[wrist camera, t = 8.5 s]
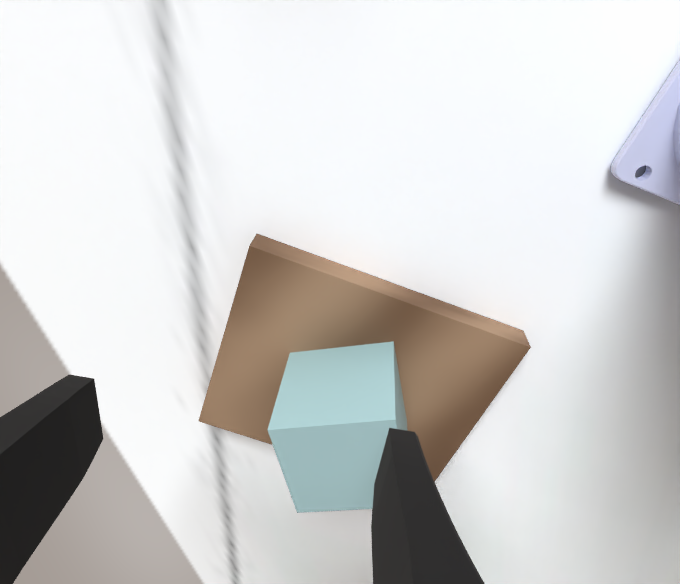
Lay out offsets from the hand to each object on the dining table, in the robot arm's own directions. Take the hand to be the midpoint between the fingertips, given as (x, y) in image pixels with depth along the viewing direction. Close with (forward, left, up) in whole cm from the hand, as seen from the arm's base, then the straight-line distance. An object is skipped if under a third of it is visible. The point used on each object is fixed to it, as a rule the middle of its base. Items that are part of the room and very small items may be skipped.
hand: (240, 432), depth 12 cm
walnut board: (-4, +4, -9) cm, 11 cm away
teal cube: (-4, +4, -8) cm, 10 cm away
